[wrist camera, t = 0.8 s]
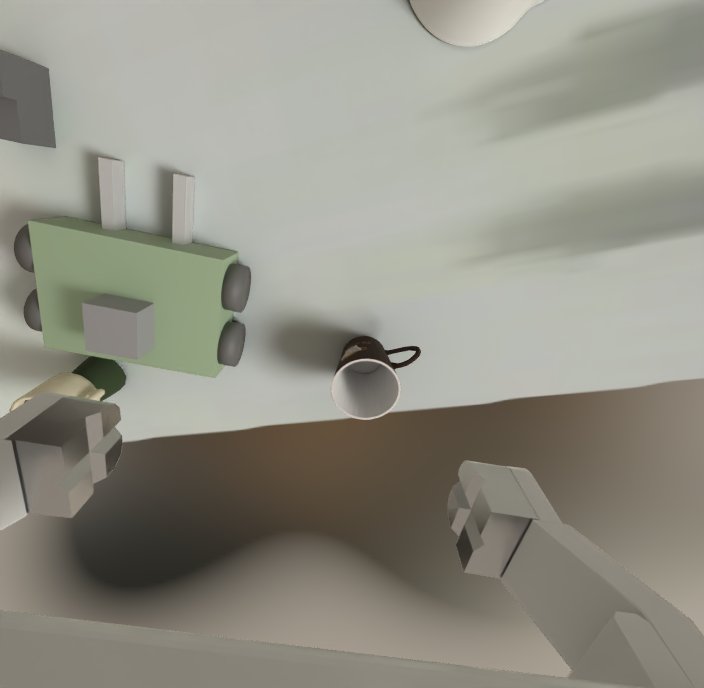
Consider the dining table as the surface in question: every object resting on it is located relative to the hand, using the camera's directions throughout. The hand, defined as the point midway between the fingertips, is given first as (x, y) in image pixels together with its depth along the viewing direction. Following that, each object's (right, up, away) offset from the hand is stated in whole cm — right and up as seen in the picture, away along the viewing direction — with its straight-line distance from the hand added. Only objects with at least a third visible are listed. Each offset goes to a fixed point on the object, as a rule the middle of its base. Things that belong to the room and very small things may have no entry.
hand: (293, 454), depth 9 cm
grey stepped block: (-36, +30, +34) cm, 58 cm away
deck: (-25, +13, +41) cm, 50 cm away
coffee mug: (+5, +1, +46) cm, 46 cm away
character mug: (-36, -2, +47) cm, 59 cm away
